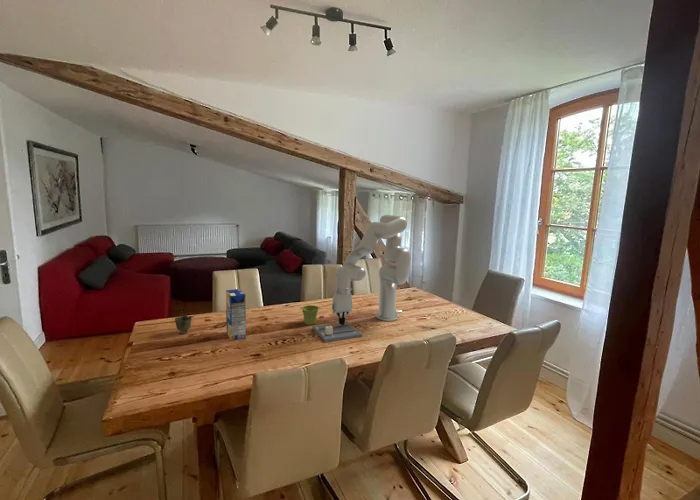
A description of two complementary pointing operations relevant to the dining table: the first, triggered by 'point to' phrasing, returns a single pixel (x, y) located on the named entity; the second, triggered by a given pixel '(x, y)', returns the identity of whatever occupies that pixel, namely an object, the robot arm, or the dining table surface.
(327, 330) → the fader ivory
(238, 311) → the beverage box
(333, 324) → the fader rust
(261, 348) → the dining table surface
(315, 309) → the plant pot
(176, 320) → the cup
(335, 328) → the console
